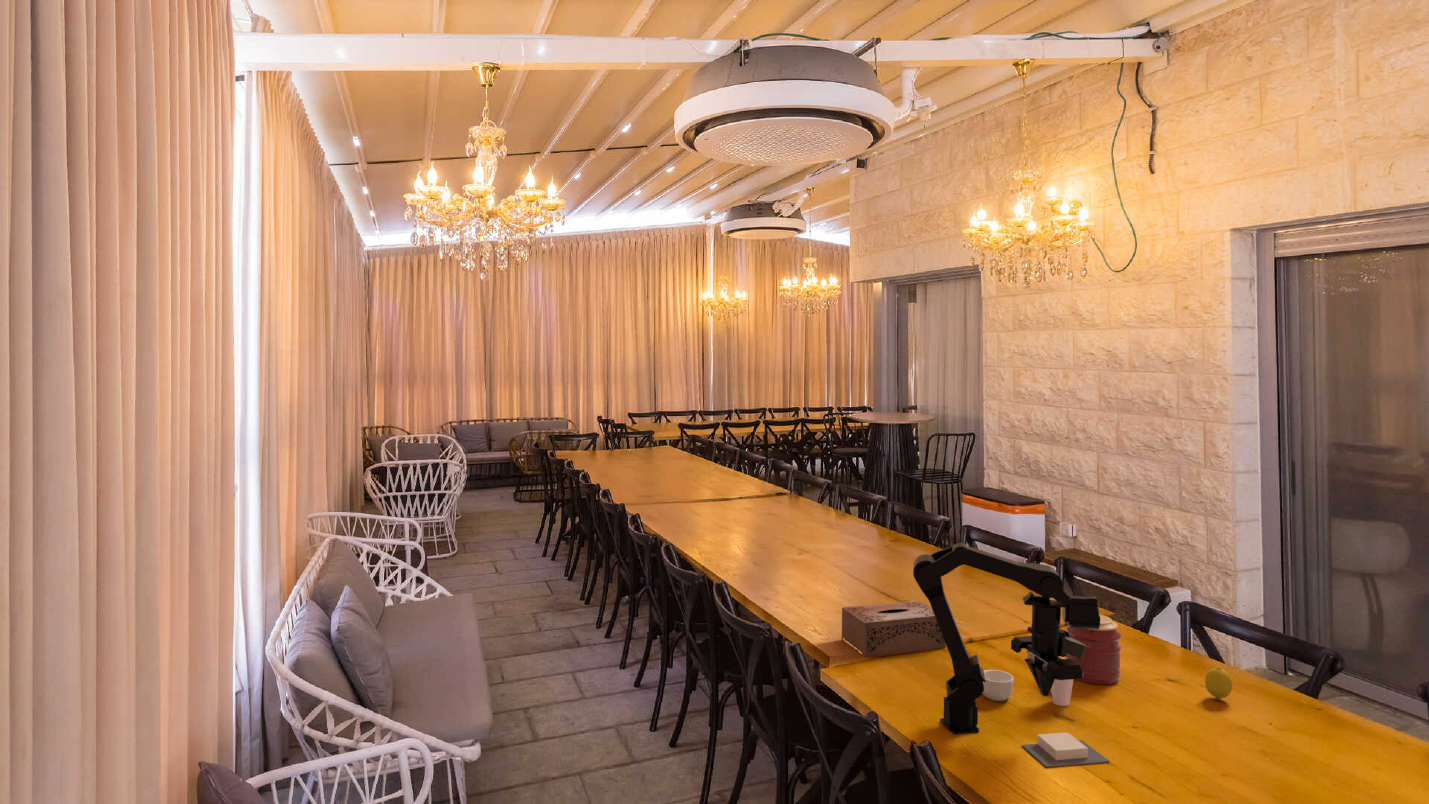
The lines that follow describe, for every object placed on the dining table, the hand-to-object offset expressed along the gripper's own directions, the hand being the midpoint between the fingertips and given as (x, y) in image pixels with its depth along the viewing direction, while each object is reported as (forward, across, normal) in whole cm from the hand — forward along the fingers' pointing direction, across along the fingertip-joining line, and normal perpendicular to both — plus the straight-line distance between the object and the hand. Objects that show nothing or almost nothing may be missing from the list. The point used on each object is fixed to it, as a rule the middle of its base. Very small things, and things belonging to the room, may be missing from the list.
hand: (1044, 695), depth 169 cm
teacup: (+9, +21, -1) cm, 23 cm away
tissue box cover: (+10, +59, +11) cm, 61 cm away
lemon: (+10, +11, -53) cm, 55 cm away
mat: (+9, -8, 0) cm, 12 cm away
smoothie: (+9, +15, -14) cm, 22 cm away
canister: (+10, +29, -32) cm, 44 cm away
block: (+8, -4, 0) cm, 9 cm away
